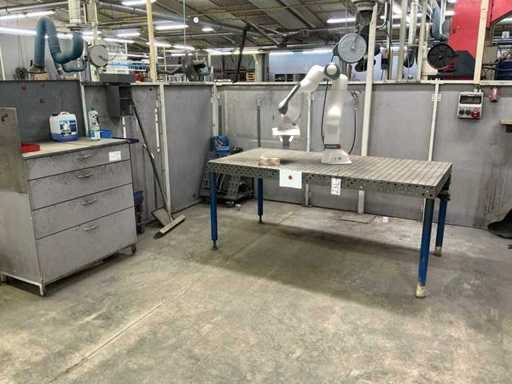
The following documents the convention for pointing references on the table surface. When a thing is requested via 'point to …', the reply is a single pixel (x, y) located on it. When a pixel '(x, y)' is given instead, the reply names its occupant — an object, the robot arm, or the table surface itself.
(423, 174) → the table surface
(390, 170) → the table surface
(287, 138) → the bracket
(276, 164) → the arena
